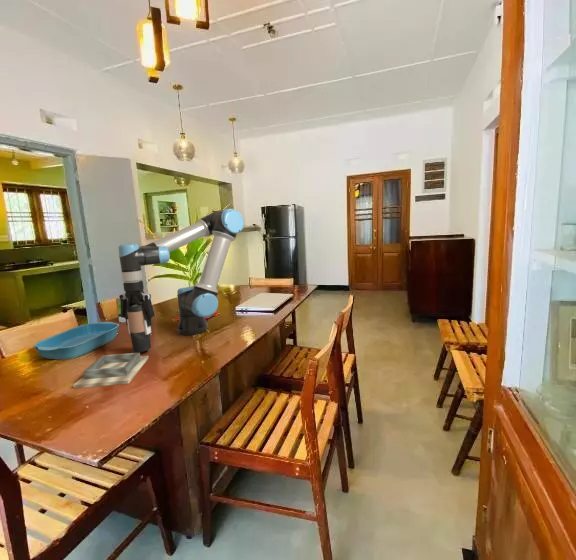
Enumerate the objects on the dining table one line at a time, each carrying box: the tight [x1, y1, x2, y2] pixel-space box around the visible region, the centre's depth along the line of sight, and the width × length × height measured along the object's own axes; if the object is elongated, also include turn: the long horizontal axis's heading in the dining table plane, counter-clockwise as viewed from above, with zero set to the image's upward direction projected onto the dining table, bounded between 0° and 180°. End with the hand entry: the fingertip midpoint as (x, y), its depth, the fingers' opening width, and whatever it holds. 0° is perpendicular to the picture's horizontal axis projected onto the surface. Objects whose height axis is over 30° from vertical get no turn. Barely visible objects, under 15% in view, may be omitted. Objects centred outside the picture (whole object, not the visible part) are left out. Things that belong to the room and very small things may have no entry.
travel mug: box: [127, 303, 152, 353], centre depth 138 cm, size 8×8×20 cm
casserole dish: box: [33, 321, 120, 360], centre depth 150 cm, size 37×22×7 cm, turn 169°
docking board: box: [73, 352, 149, 389], centre depth 122 cm, size 18×22×4 cm
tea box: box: [115, 296, 128, 323], centre depth 195 cm, size 15×10×15 cm, turn 6°
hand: (140, 333), depth 139 cm, fingers closed on travel mug, 8 cm apart
